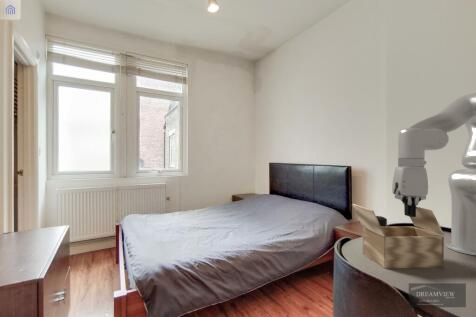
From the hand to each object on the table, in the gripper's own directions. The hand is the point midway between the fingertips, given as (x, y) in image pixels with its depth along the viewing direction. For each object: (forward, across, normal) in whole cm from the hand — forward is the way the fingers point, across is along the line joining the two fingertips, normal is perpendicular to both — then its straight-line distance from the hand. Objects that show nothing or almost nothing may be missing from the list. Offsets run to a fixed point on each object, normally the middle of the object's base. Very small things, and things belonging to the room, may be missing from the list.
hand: (410, 216), depth 83 cm
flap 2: (+1, -4, 0) cm, 4 cm away
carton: (+15, +3, 0) cm, 16 cm away
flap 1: (+1, +15, 0) cm, 15 cm away
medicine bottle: (+16, +2, -14) cm, 21 cm away
